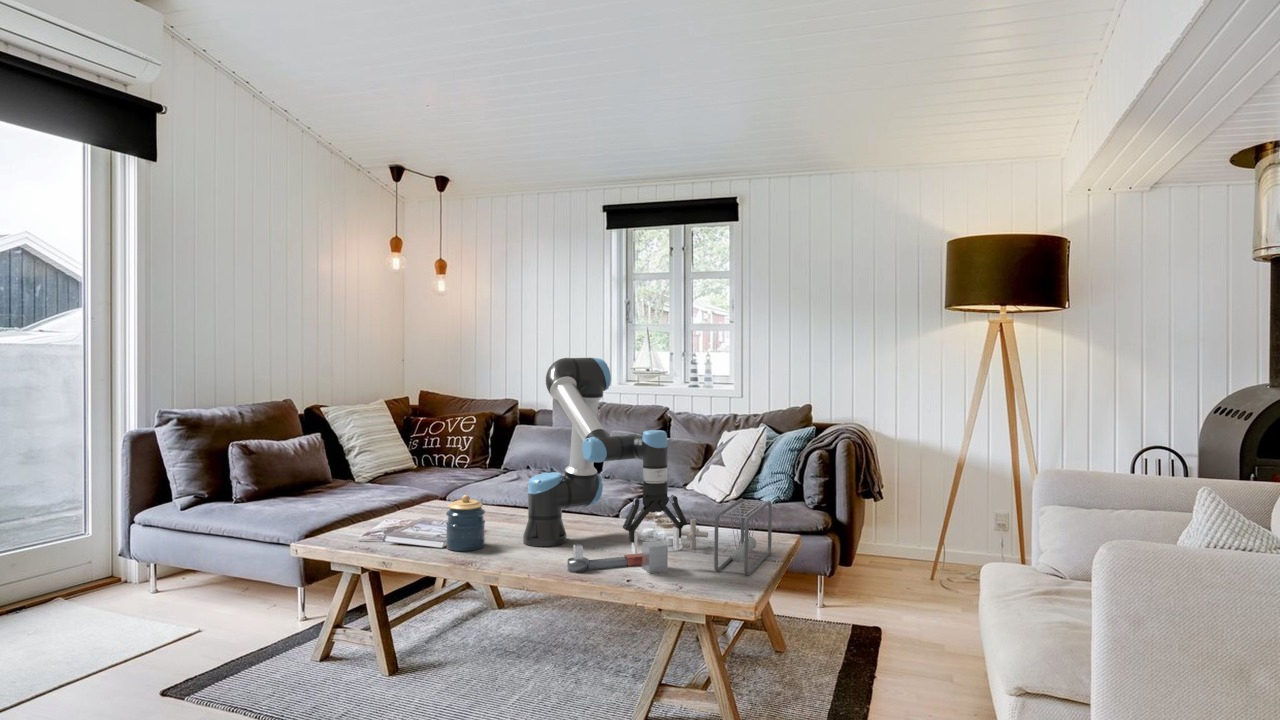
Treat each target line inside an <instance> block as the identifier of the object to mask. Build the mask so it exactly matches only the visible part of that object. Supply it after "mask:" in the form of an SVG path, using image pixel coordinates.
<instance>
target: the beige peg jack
mask: <svg viewBox="0 0 1280 720" xmlns="http://www.w3.org/2000/svg"><path fill="white" fill-rule="evenodd" d="M696 525H697V519H696V518H690V525H689V526H690V527H689V529H690V530H686V529H685V530H683V529H681V537H682V536H683V537H686V540H688V541H690V543H689V544H690V545H689V546H690V547H689V549H690V550H692V549H694V550H697V549H696V548H697V545H696V544H697V543H696V541H697V540H696V538H707V539H708V537H709V533H708V532H707V531H700V529H699V528H697V526H696Z"/></svg>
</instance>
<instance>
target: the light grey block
mask: <svg viewBox="0 0 1280 720" xmlns="http://www.w3.org/2000/svg"><path fill="white" fill-rule="evenodd" d="M641 546H642V547H641V548H642V549H641V553H642V565H641V568H642V569H643V570H644V571H645V570H646V571H647V573H648V574H649V573H651V574H658V573H657V572H660V573H668V571H669V570H668V569H669V568H668V567H669V566H668V565H669V564H668V559H669V558H668V557H669V556H668V554H669V553H668V549H669V545H668V544H666V543H665V542H664V541H662V540H651V541H650V540H649V541H642V542H641ZM646 571H645V572H646Z"/></svg>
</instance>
